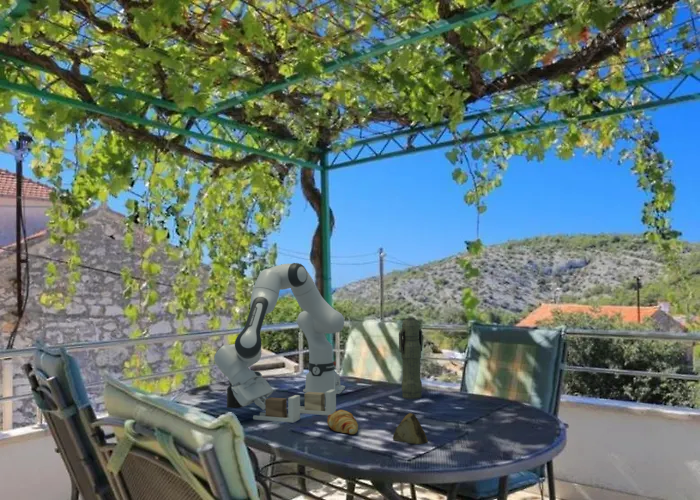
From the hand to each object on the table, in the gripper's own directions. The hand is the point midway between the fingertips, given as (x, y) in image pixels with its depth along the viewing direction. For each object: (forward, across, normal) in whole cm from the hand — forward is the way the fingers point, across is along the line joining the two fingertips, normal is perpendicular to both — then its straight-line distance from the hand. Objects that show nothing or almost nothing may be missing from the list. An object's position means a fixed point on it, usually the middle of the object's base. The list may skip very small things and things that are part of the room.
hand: (266, 408), depth 221 cm
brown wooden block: (+6, 0, 0) cm, 6 cm away
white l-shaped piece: (+13, +14, -6) cm, 20 cm away
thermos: (+33, +58, -26) cm, 72 cm away
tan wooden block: (+12, +14, -7) cm, 20 cm away
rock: (+45, -10, -38) cm, 60 cm away
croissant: (+26, -2, -19) cm, 32 cm away
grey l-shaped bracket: (+6, 0, 0) cm, 6 cm away
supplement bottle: (-13, +15, +20) cm, 28 cm away
